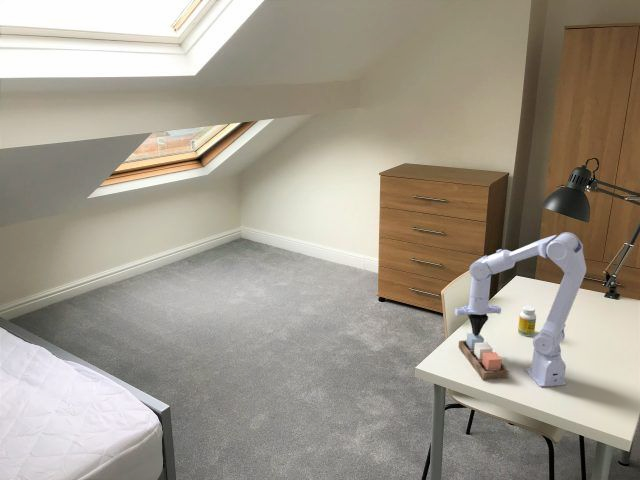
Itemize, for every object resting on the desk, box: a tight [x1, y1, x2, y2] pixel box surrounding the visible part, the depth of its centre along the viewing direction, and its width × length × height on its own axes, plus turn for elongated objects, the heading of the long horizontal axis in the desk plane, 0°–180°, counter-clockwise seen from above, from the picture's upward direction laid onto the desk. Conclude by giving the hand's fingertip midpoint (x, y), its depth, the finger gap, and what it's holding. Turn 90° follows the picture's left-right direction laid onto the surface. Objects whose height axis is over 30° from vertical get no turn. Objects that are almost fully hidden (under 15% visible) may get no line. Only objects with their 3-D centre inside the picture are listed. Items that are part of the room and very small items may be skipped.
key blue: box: [466, 332, 485, 350], centre depth 171 cm, size 4×4×4 cm
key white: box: [473, 341, 493, 360], centre depth 165 cm, size 4×4×4 cm
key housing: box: [458, 339, 510, 381], centre depth 166 cm, size 19×8×2 cm, turn 7°
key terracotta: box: [481, 351, 503, 371], centre depth 159 cm, size 4×4×4 cm
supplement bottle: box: [517, 305, 537, 337], centre depth 183 cm, size 5×5×10 cm
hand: (475, 334), depth 170 cm, fingers closed
